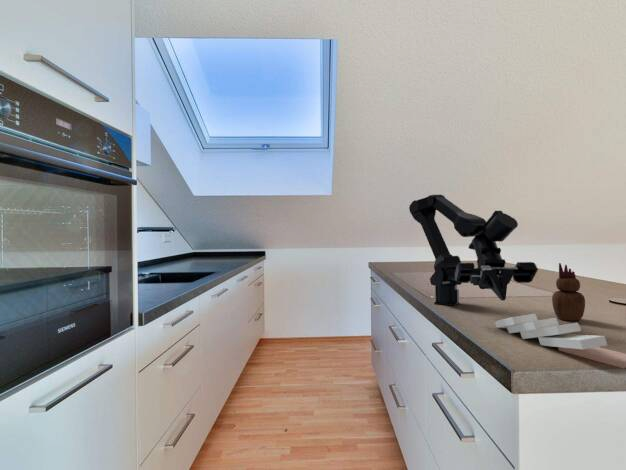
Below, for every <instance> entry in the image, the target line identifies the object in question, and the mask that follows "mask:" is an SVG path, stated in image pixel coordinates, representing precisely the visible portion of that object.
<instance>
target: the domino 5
mask: <svg viewBox="0 0 626 470" xmlns="http://www.w3.org/2000/svg"><path fill="white" fill-rule="evenodd" d="M558 351H559V352H564V353H568V354H570V355H574V356H576V357H581V358H584V359H589V360H592V361H595V362H600V363H603V364H605V365H610V366H612V367H613V366H614V367H617V368H620V369H626V353H624V352H619V351H615V350H611V349H607V348H602V347H601V346H600V347H594V348H589V349H583V350H582V349H573V348H563V347H558Z"/></svg>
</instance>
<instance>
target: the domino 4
mask: <svg viewBox="0 0 626 470" xmlns="http://www.w3.org/2000/svg"><path fill="white" fill-rule="evenodd" d="M537 338H538V340H539V341H538V342H539V345H540V346H545V347H553V348H554V347H555V348H559V347H563V348H573V349H582V350H583V349H589V348H594V347H600V348H601V347H605V346H608V343H607V342H608V341H607V340H606V336H605V335H591V334H575V333H574V334H573V333H565V334H558V335H551V336H543V337H537Z"/></svg>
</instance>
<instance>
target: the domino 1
mask: <svg viewBox="0 0 626 470" xmlns="http://www.w3.org/2000/svg"><path fill="white" fill-rule="evenodd" d="M538 320H539V319H538V317H537V315H536V313H531V314H530V313H529V314H524V315H517V316H511V317H507V318H503V319H499V320H494V323H495V326H496V328H503V327H504V328H505V327H507V326H512V325H517V324H522V323H527V322H532V321H538Z"/></svg>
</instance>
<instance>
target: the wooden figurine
mask: <svg viewBox="0 0 626 470" xmlns="http://www.w3.org/2000/svg"><path fill="white" fill-rule="evenodd" d="M576 276H577V275H576V274H575V271H573V270H572V268H568V265H567V264H564V269H563V267H562V264H561V263H560V262H559V263H558V278H557V279H556V281H555V285H556V289H557V291H555V292H554V293H552V297H551V298H552V299H551V300H552V309H553V311H554V314H555V315H556V318H558V319H559V320H562V321H568V322H576V321H580V320H582V318H583V316H584V315H585V313H584V312H585V310H586V299H585V296H584V294H583V293H581V292H579V290H580V288H581V282H580V280H579V279H578V278H577V277H576Z"/></svg>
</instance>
